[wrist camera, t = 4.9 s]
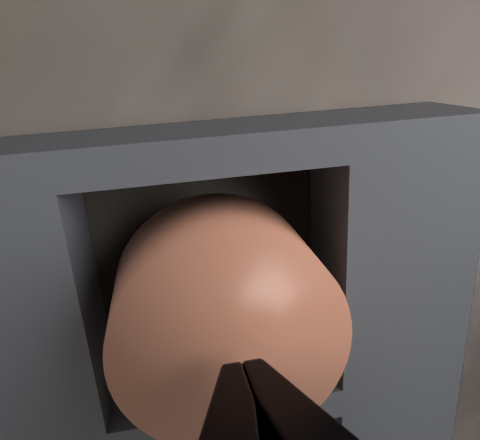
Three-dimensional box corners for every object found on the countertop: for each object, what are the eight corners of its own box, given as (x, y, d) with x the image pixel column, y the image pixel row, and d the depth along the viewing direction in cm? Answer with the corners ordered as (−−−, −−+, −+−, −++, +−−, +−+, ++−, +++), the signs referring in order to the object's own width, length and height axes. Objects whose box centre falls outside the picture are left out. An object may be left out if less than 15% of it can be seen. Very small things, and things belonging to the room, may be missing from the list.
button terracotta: (307, 182, 12) (356, 221, 9) (308, 351, 14) (349, 427, 11) (99, 205, 11) (80, 255, 8) (130, 381, 13) (123, 471, 10)
